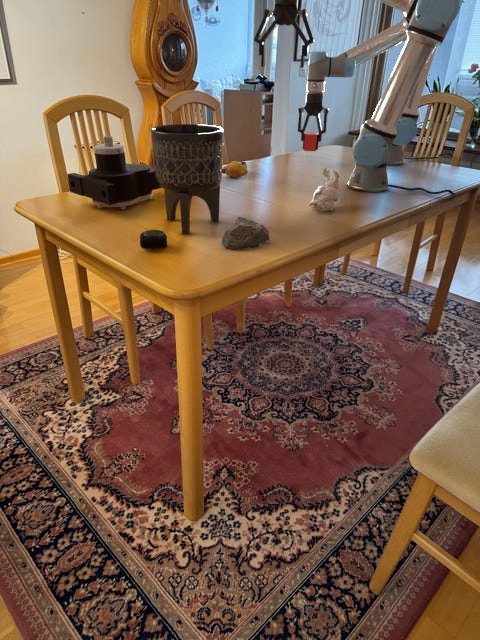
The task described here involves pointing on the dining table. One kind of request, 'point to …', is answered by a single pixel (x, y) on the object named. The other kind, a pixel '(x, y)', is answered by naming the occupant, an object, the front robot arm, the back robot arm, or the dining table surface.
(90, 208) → the dining table surface
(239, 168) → the toy
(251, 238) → the rock
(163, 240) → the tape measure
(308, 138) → the brick
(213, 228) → the dining table surface
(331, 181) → the figurine
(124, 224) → the dining table surface
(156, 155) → the planter
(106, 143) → the mechanical component
